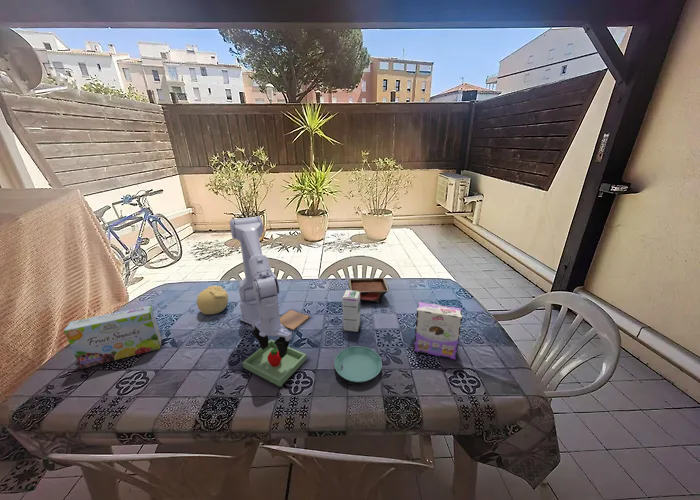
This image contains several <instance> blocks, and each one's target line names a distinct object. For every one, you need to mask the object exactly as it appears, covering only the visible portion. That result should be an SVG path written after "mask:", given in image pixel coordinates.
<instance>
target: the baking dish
mask: <svg viewBox="0 0 700 500" xmlns="http://www.w3.org/2000/svg"><path fill="white" fill-rule="evenodd" d="M347 285H348V288H349V289H348V290H355V291H360V302H362V301H368V302H377V303H379V304H381V303H382V299H383V297H384V296H385V295H386V293H388V292H389V290H390V287H389V285H388V283H387V281H386V279H385V278H383V277H370V278H369V277H368V278H366V277H365V278H350V279H349V280H348V284H347Z"/></svg>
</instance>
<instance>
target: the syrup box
mask: <svg viewBox="0 0 700 500" xmlns="http://www.w3.org/2000/svg"><path fill="white" fill-rule="evenodd" d="M341 300H342V301H341V302H342V327H343V328H342V329H343V331H348V332H356V333H357V332H359V329H360V326H361V301H360V291H355V290H350V289H345V292H344V293H343V295H342V299H341Z"/></svg>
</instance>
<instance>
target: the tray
mask: <svg viewBox="0 0 700 500" xmlns="http://www.w3.org/2000/svg"><path fill="white" fill-rule="evenodd" d="M275 341H276V340H273V339H270V340H268V347H266V348H265V349H264V350H263V349H262V348H261V347H260V348H258V349H256V350H255V352H253V353H252V354H250V356H248V357H247V358H245V359H244V360H243V361H242V362H241V363H242V368H243V369H245V370H247V371H249V372H251V373H253V374H255V375H257V376H259V377H260V378H263V379H264V380H266V381H269V382H270V383H272V384H274V385H276V386H278V387H280V388H282V386H283V385H284V384H285V383H286V382H287V380H288V379H290V378H291V376H292V375H293V374H295V372H297V370H298V369H300V367H301V366H302V365H303V364H304V363H305V362H306V361H307V354H306V353H304V352H302V351H299V350H297V349H295V348H292V347H291V346H288V348H287V353H286V355H285V356H284V357H283V358H282V360H281V362H280V364H279V365H278V366H276V367H273V366H271V364H270V363H269V362H268V355H269V353H270V352H271V350H272V349H277V351H278V348H277V346H276V344H275V343H274V342H275Z"/></svg>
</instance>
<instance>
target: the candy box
mask: <svg viewBox="0 0 700 500" xmlns="http://www.w3.org/2000/svg"><path fill="white" fill-rule="evenodd" d="M415 317H416V318H415V326H414V339H413V340H414V341H413V348H412V351H413V352H416V353H422V354H427V355H432V356H436V357H441V358H446V359H449V360H450V359H451V360H457V356H458V349H459V342H460V341H459V340H460V334H461V330H462V329H461V328H462V321H463V313H462V308H461V307H460V308H459V307H455V306H448V305H443V304H436V303H429V302H423V301H418V304H417V308H416V316H415Z"/></svg>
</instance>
